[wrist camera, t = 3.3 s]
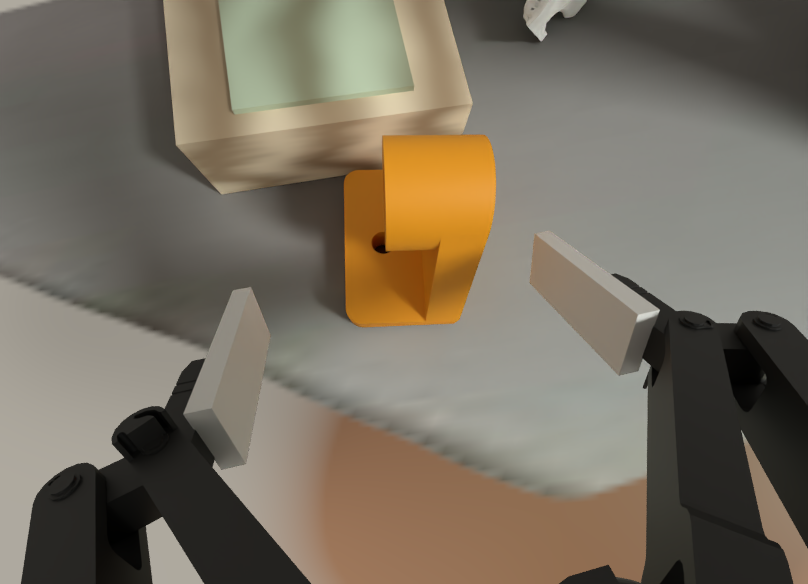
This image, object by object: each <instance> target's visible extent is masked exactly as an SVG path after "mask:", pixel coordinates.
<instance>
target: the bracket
mask: <svg viewBox="0 0 808 584" xmlns="http://www.w3.org/2000/svg"><path fill="white" fill-rule="evenodd" d="M382 169H383V170H355V171H352V172H350V173H349V174H348V175H347V176H346V177H345V180H344V223H345V290H346V313H347V315H348V317H349V318H350V320H351V321H352V323H353V324H355V325H356V326H359V327H381V326H404V325H428V324H452V323H455V322H457V321H458V320H459V319H460V316H461V313H462V310H463V307H464V305H465V302H466V299H467V296H468V293H469V290H470V287H471V285H472V282H473V279H474V276H475V273H476V270H477V267H478V264H479V262H480V259H481V256H482V253H483V250H484V247H485V244H486V241H487V239H488V236H489V233H490V229H491V225H492V221H493V215H494V207H495V196H496V171H495V161H494V155H493V150H492V146H491V143H490V141H489V139H488V138H487V137H486V136H485V135H382ZM380 245H385V248H386V251H390V252H389V253H386V254H381V253H378V252H376V251H375V250H374V249H375V248H376V247H378V246H380Z"/></svg>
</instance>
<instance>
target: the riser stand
mask: <svg viewBox="0 0 808 584" xmlns="http://www.w3.org/2000/svg"><path fill="white" fill-rule="evenodd" d="M163 3H164V15H165V26H166V37H167V49H168V60H169V72H170V83H171V95H172V106H173V117H174V129H175V140H176V146H177V147H178V148H179V149H180V150H181V151H182V152H183V153H184V154H185V155H186V157H187V158H188V159H189V160H190V161H191V162H192V163H193V164H194V165H195V166H196V167H197V168H198V170H199V171H200V172H201V173H202V174H203V175H204V176H205V177H206V178H207V179H208V180H209V181H210V183H211V184H212V185H213V186H214V187H215V188H216V189H217V190H218V191H219V192H220V193H221V194H227V193H234V192H240V191H247V190H253V189H260V188H266V187H273V186H279V185H286V184H292V183H298V182H305V181H311V180H318V179H324V178H331V177H337V176H344V175H348V174H349V173H350V172H352V171H355V170H382V135H462V134H463V131H464V128H465V125H466V122H467V119H468V116H469V113H470V110H471V107H472V104H473V103H472V99H471V95H470V92H469V88H468V85H467V81H466V78H465V74H464V70H463V67H462V63H461V60H460V56H459V53H458V49H457V45H456V42H455V38H454V35H453V31H452V28H451V24H450V20H449V17H448V13H447V10H446V6H445V3H444V0H163Z"/></svg>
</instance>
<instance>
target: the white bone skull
mask: <svg viewBox="0 0 808 584" xmlns="http://www.w3.org/2000/svg"><path fill="white" fill-rule="evenodd" d="M586 2H587V0H527V1H526V3H525V6H524V14H523V18H524V19H525V21H526V22H527V23H526V25H527V26H528V28H529V29H530V30H531V31H532V32H533V33H534V34H535V35H536V36H537V37H538V39H539V40H540V41H542V40H543V39H544V38H545V37H546V35H547V33H546V31H545V28H546V23H547V22H548V21H549V20H550V18H551V17H552V16H553V15H554V14H555V13H557V12H559V11H560V12H562V13H563V16H564V18H570V17H573V16H575V15H576V14H577V13H578V12H579V10H580V9H581V7H582V6H583V5H584V4H585V3H586Z"/></svg>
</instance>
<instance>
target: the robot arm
mask: <svg viewBox="0 0 808 584" xmlns="http://www.w3.org/2000/svg"><path fill="white" fill-rule="evenodd" d="M530 284H531V285H532V286H533V287H534V288H535V289H536V290H537V291H538V292H539V293H540V294H541V295H542V296H543V297H544V298H545V299H546V301H547V302H548V303H549V304H550V305H551V306H552V307H553V308H554V309H555V310H556V311H557V312H558V313H559V314H560V315H561V316H562V317H563V318H564V319H565V320H566V321H567V322H568V323H569V324H570V325H571V326H572V328H573V329H574V330H575V331H576V332H577V333H578V334H579V335H580V336H581V337H582V338H583V339H584V340H585V341H586V342H587V343H588V344H589V345H590V346H591V347H592V348H593V349H594V350H595V351H596V352H597V353H598V355H599V356H600V357H601V358H602V359H603V360H604V361H605V362H606V363H607V364H608V365H609V366H610V367H611V368H612V369H613V370H614V371H615V372H616V373H617V374H618V375H619V376H620V375H624V374H628V373H632V372H636V371H638V370H639V367H640V365H641V362H642V359H644V360H645V361H646V362H647V363H649V364H650V365H651V367H650V369H649V372H648V375H647V377H646V380H645V383H644V385H643V388H644V389H646V388H647V386H648V428H647V528H646V529H647V530H646V532H647V533H646V561H645V567H644V571H643V575H642V580H641V583H639V582H636V581H633V580H628V579H624V578H618V577H615V575H614V573H613V572H612V570H611V568H610V567H609V565H606V566H603V567H599V568H596V569H593V570H589V571H586V572H582V573H579V574H576V575H572V576H569V577H567V578H566V579H565V580H563V581H562V582H561V583H559V584H793V580H792V577H791V572H790V569H789V565H788V561H787V558H786V556H785V553H784V551H783V549H782V548H781V547H780V545H779V544H778V543H776V542H774V541H771V540H768V539H767V537H766V536H765V534H764V531H763V528H762V523H761V519H760V514H759V510H758V505H757V501H756V496H755V492H754V487H753V483H752V478H751V473H750V469H749V465H748V460H747V455H746V451H745V446H744V442H743V437H742V433H741V430H742V432H743V434H744V435H745V437H746V439H747V441H748V443H749V444H750V446H751V448H752V450H753V451H754V453H755V455H756V457H757V459H758V460H759V462H760V464H761V466H762V468H763V469H764V471H765V473H766V475H767V476H768V478H769V480H770V482H771V484H772V485H773V487H774V489H775V491H776V493H777V494H778V496H779V498H780V500H781V501H782V503H783V505H784V507H785V508H786V510H787V512H788V514H789V516H790V518H791V519H792V521H793V523H794V525H795V526H796V528H797V530H798V532H799V534H800V535H801V537H802V539H803V541H804V542H805V544H806V546H807V548H808V340H807V339H806V338H805V337H804V335H803V334H802V333H801V332H800V331H799V330H798V329H797V328H796V327H795V326H794V325H793V324H792V323H790V322H789V321H788V320H786V319H784V318H782V317H780V316H778V315H775V314H771V313H768V312H761V311H747V312H745V313H742V315H741V317H740V318H739V320H738V322H737V324H736V323H715V322H714V321H713V320H711V319H710V318H709V317H706V316H704V315H702V314H699V313H695V312H691V311H675V310H674V309H672V308H671V307H669V306H668V305H666V304H665V303H663V302H662V301H661V300H659V299H658V298H656V297H655V296H653V295H652V294H650V293H647V291H646V290H645V289H643V288H642V287H639V285H637V284H636V283H634V282H633V281H632V280H630V279H628V278H626V277H623V276H621V275H618V274H609V273H608V272H606V271H605V270H604V269H602V268H601V267H600V266H598V265H597V264H595V263H594V262H593V261H591V260H590V259H588V258H587V257H586V256H584V255H583V254H581V253H580V252H579V251H577V250H576V249H574V248H573V247H572V246H570V245H569V244H567V243H566V242H565V241H563V240H562V239H560V238H559V237H558V236H556V235H555V234H554V233H552V232H551V231H546V232H541V233H536V234H535V235H534V245H533V255H532V265H531V275H530ZM270 337H271V335H270V332H269V330H268V327H267V325H266V323H265V320H264V318H263V315H262V313H261V310H260V308H259V305H258V303H257V300H256V298H255V296H254V293H253V291H252V288H251V287H248V288H243V289H237V290H233V291H232V294H231V296H230V299H229V301H228V304H227V306H226V309H225V311H224V314H223V316H222V319H221V321H220V324H219V326H218V329H217V331H216V334H215V336H214V339H213V341H212V344H211V346H210V349H209V351H208V354H207V356H206V358H205V359H200V360H195V361H192V362H191V363H190V364H189V365H188V366H187V367H186V368H185V369H184V370H183V371H182V373H181V375H180V377H179V379H178V381H177V384H176V385H177V386H175V388H174V390H173V392H172V396H171V397H170V399H169V401H168V403H167V405H166V407H165V409H163V408H162V407H159V406H155V407H154V406H152V407H148V408H144V409H142V410H139V411H137V412H136V413H134V414H132V415H130V416H129V417H128V418H126V419H125V420H124V421H123V422H122V423H121V424H120V425H119V426H118V427H117V428H116V429H115V431H114V434H113V436H112V444H113V446H114V447H115V448H116V449H117V450H118V451H119V452H120V453H121V454H122V455H123V456H124V458H123V459H121V460H119V461H117V462H114V463H112V464H110V465H108V466H106V467H104V468H102V469H100V470H98V469H97V468H96V467H94V466H93V465H91V464H89V463H81V464H76V465H74V466H71V467H69V468H66V469H65V470H63V471H62V472H60V473H58V474H57V475H55V476H54V477H53V478H52V479H51V480H49V481H48V482H47V483H46V484H45V485H44V486H43V487H42V489H41V490H40V491H39V493H38V494H37V495H36V498H35V500H34V503H33V508H32V514H31V520H30V527H29V534H28V540H27V547H26V554H25V560H24V567H23V574H22V581H21V584H153V583H152V575H151V566H150V558H149V551H148V541H147V534H146V525H148V524H150V523H151V522H153V521H155V520H157V519H159V518H161V517H163V518H164V519H165V521H166V523H167V524H168V526H169V528H170V529H171V531H172V532H173V534H174V536H175V537H176V539H177V540H178V542H179V543H180V545H181V547H182V548H183V550H184V552H185V553H186V555H187V557H188V558H189V560H190V561H191V563H192V564H193V566H194V568H195V569H196V571H197V573H198V574H199V576H200V577H201V579H202V581H203V582H204V584H311V583H310V582H309V581H308V579H307V578H306V577H305V576H304V575H303V574H302V572H301V571H300V570H299V569H298V568H297V566H296V565H295V564H294V563H293V562H292V561H291V559H290V558H289V557H288V556H287V555H286V553H285V552H284V551H283V550H282V549H281V548H280V546H279V545H278V544H277V543H276V542H275V541H274V539H273V538H272V537H271V536H270V535H269V534H268V532H267V531H266V530H265V529H264V528H263V526H262V525H261V524H260V523H259V522H258V521H257V519H256V518H255V517H254V516H253V515H252V514H251V513H250V511H249V510H248V509H247V508H246V507H245V505H244V504H243V503H242V502H241V501H240V499H239V498H238V497H237V496H236V495H235V494H234V493H233V491H232V490H231V489H230V488H229V487H228V485H227V484H226V483H225V482H224V481H223V479H222V478H221V477H220V476H219V475H218V474H217V472H216V471H215V470H214V469H213V468H212V467H213V463H214V460H215V461H216V463H217V464H218V465H219V467H220V468H221V470H223V469H227V468H231V467H235V466H239V465H244V464H246V461H247V456H248V451H249V446H250V441H251V435H252V430H253V424H254V420H255V414H256V409H257V404H258V399H259V394H260V389H261V383H262V378H263V373H264V368H265V363H266V357H267V352H268V347H269V342H270Z"/></svg>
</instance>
